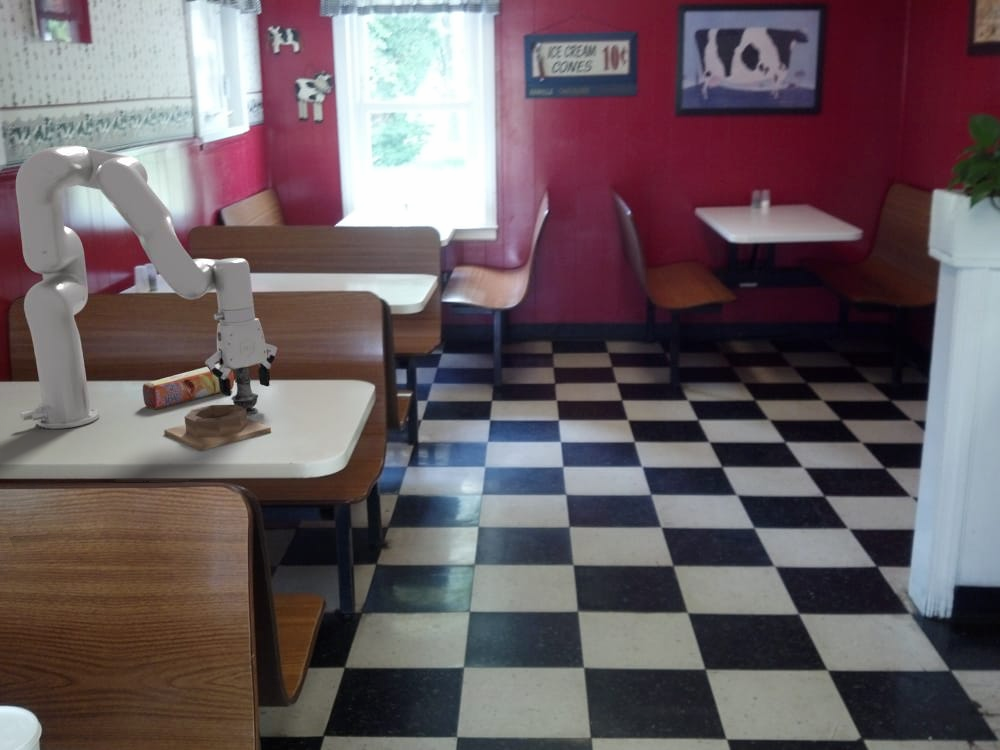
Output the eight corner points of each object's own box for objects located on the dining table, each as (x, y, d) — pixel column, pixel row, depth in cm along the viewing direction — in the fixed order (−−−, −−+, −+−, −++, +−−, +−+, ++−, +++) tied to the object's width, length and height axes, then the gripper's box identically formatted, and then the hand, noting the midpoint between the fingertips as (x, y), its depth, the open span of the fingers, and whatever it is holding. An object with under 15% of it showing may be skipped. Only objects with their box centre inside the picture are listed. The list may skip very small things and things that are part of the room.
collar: (201, 450, 203) (198, 429, 202) (164, 434, 214) (162, 413, 213) (271, 431, 214) (269, 411, 213) (232, 417, 225) (230, 397, 224)
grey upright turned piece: (263, 408, 231) (258, 357, 228) (254, 416, 225) (249, 363, 222) (238, 408, 232) (233, 357, 228) (229, 416, 226) (223, 363, 223)
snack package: (156, 412, 232) (153, 383, 230) (142, 407, 236) (138, 379, 234) (236, 391, 246) (234, 364, 245) (221, 387, 251) (219, 360, 249)
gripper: (209, 324, 214) (219, 402, 219) (280, 310, 226) (288, 384, 230) (192, 320, 220) (202, 396, 224) (262, 306, 231) (270, 379, 235)
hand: (245, 390), depth 227 cm, fingers open, 9 cm apart
